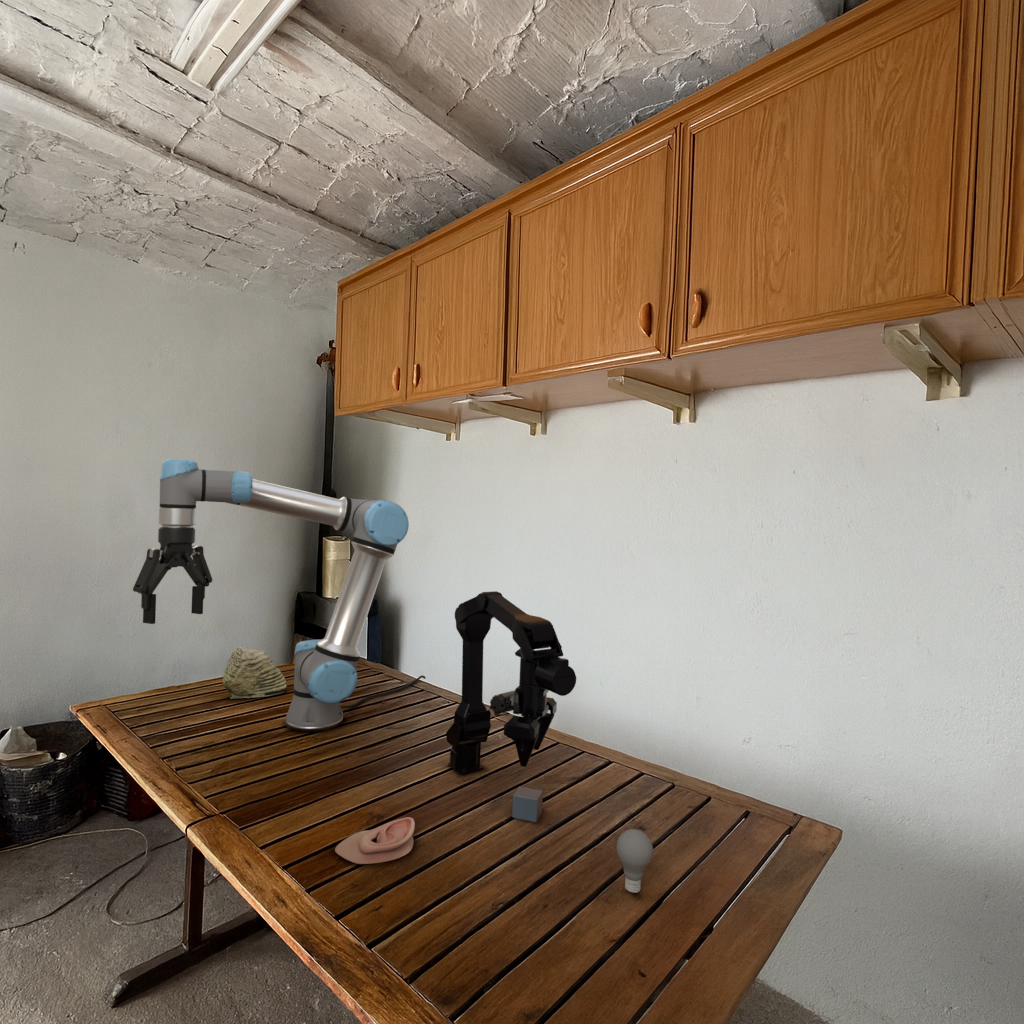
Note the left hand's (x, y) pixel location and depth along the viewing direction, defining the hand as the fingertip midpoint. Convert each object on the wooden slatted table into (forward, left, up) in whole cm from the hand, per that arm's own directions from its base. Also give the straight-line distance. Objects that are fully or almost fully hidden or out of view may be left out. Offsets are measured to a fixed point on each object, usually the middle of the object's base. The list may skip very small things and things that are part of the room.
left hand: (174, 618), depth 146 cm
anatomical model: (-9, +63, -34) cm, 72 cm away
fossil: (-39, -33, -34) cm, 61 cm away
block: (-38, +75, -34) cm, 91 cm away
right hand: (-38, +75, -22) cm, 87 cm away
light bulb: (-30, +104, -34) cm, 113 cm away
